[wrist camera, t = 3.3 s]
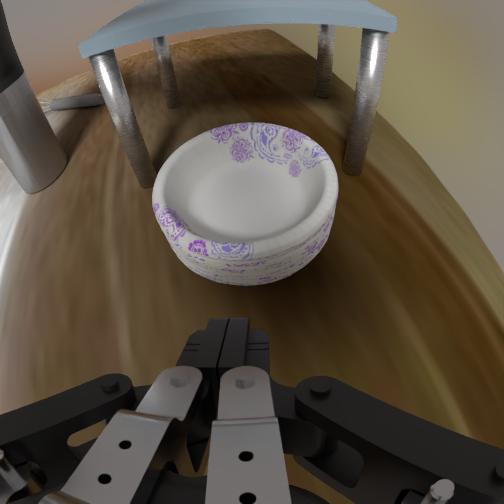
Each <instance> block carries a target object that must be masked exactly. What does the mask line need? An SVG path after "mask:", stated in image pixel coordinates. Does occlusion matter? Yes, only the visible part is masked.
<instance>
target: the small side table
mask: <svg viewBox="0 0 504 504" xmlns="http://www.w3.org/2000/svg"><path fill="white" fill-rule="evenodd" d="M264 23H310V24H319V28H318V56H317V77H316V96H317V97H320V98H329V97H330V89H331V77H332V65H333V50H334V33H335V25H341V26H351V27H360V28H363V31H362V42H361V50H360V59H359V67H358V75H357V83H356V90H355V97H354V104H353V110H352V117H351V123H350V129H349V135H348V140H347V146H346V152H345V157H344V162H343V171H344V172H345V173H346V174H348V175H350V176H359V175H360V174H361V173H362V169H363V165H364V161H365V157H366V153H367V149H368V145H369V140H370V136H371V131H372V127H373V122H374V118H375V113H376V108H377V103H378V98H379V92H380V87H381V82H382V76H383V70H384V64H385V59H386V51H387V46H388V39H389V32H393V33H395V32H396V24H397V18H396V17H394V16H392V15H391V14H389V13H387V12H386V11H384V10H382V9H380V8H378V7H376V6H375V5H372V4H371V3H369V2H367V1H365V0H146V1H144V2H142V3H140V4H138V5H137V6H135V7H133V8H132V9H130V10H128V11H127V12H125V13H124V14H122V15H120V16H119V17H117V18H116V19H114V20H113V21H111V22H110V23H108V24H107V25H105V26H104V27H102V28H101V29H99V30H98V31H97V32H95V33H94V34H92V35H91V36H90V37H88V38H87V39H86V40H84V41H83V42H82V43H80V44H79V45H78V48H79V51H80V53H81V57H82V59H83V58H86V57H89V60H90V63H91V65H92V68H93V71H94V74H95V77H96V80H97V82H98V85H99V88H100V90H101V93H102V96H103V98H104V101H105V103H106V106H107V108H108V111H109V114H110V116H111V119H112V121H113V124H114V126H115V128H116V131H117V133H118V136H119V138H120V140H121V143H122V145H123V148H124V150H125V152H126V155H127V157H128V159H129V161H130V164H131V166H132V168H133V171H134V173H135V175H136V177H137V179H138V182H139V184H140V186H141V187H142V188H151V187H153V186H154V183H155V180H156V178H157V174H156V171H155V169H154V166H153V163H152V161H151V158H150V156H149V153H148V150H147V148H146V145H145V142H144V139H143V137H142V134H141V131H140V128H139V126H138V123H137V120H136V117H135V114H134V111H133V108H132V106H131V103H130V100H129V97H128V94H127V91H126V88H125V85H124V82H123V79H122V76H121V72H120V69H119V66H118V63H117V60H116V57H115V53H114V50H113V48H117V47H120V46H124V45H127V44H131V43H135V42H138V41H143V40H147V39H151V43H152V47H153V51H154V55H155V59H156V63H157V67H158V71H159V75H160V79H161V83H162V87H163V91H164V94H165V98H166V102H167V106H168V108H176V107H178V106H180V105H181V104H182V102H181V98H180V94H179V90H178V85H177V81H176V77H175V72H174V68H173V64H172V59H171V55H170V50H169V46H168V41H167V36H166V35H170V34H175V33H180V32H186V31H192V30H199V29H206V28H213V27H223V26H233V25H246V24H264Z"/></svg>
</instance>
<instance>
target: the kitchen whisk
mask: <svg viewBox="0 0 504 504" xmlns="http://www.w3.org/2000/svg"><path fill="white" fill-rule="evenodd" d="M39 99H42V98H39ZM43 100H47V99H43ZM48 101H51V100H48ZM104 102H105V101H104V98H103V96H102V94H100V93H96V94H87V95H79V96H72V97H66V98H60V99H54V100H53V101H52V102H51V104H50V105H51V108H50V111H51V109H52V110H61V109H69V108H78V107H88V106H98V105H101V104H103V103H104ZM39 103H45V102H39ZM42 106H45V105H42ZM47 107H49V106H47ZM42 108H45V107H42ZM48 111H49V109H48ZM46 112H47V110H46ZM44 113H45V111H44ZM47 113H48V112H47ZM45 114H46V113H45Z"/></svg>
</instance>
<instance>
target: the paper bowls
mask: <svg viewBox="0 0 504 504" xmlns="http://www.w3.org/2000/svg"><path fill="white" fill-rule="evenodd" d="M337 198H338V178H337V173H336V170H335V167H334V164H333V163H332V161H331V159H330V157H329V156H328V154H327V153H326V152H325V150H324V149H323V148H322V147H321V146H320V145H318V144H317V143H316V142H315V141H314V140H312V139H311V138H309V137H308V136H306V135H304V134H302V133H300V132H298V131H295V130H293V129H290V128H287V127H284V126H279V125H275V124H268V123H252V122H251V123H237V124H230V125H226V126H221V127H218V128H214V129H212V130H209V131H206V132H204V133H202V134H200V135H198V136H196V137H194V138H192V139H191V140H189V141H187V142H186V143H185V144H183V145H182V146H180V147H179V148H178V149H177V150H176V151H175V152H174V153H173V154H172V155H171V156H170V157H169V158H168V159H167V160H166V162H165V163H164V164H163V166H162V167H161V169H160V171H159V173H158V175H157V178H156V180H155V183H154V188H153V195H152V203H153V209H154V213H155V216H156V218H157V221H158V223H159V225H160V227H161V229H162V231H163V232H164V234H165V236H166V238H167V240H168V242H169V244H170V245H171V247H172V249H173V250H174V252H175V253H176V255H177V256H178V258H179V259H180V260H181V261H182V262H183V263H184V264H185V265H186V266H187V267H188V268H190V269H191V270H192V271H194V272H195V273H197V274H199V275H201V276H203V277H205V278H207V279H209V280H213V281H216V282H219V283H223V284H231V285H242V286H250V285H258V284H266V283H272V282H275V281H278V280H280V279H283V278H286V277H288V276H291V275H292V274H293V273H295V272H297V271H298V270H300V269H301V268H303V267H304V266H306V265H307V264H308V263H309V262H310V261H311V260H312V259H313V258H314V257H315V256H316V255H317V254H318V253H319V252H320V250H321V249H322V247H323V246H324V244H325V243H326V241H327V239H328V236H329V233H330V229H331V226H332V222H333V218H334V213H335V207H336V202H337Z"/></svg>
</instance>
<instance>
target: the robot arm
mask: <svg viewBox="0 0 504 504" xmlns="http://www.w3.org/2000/svg"><path fill="white" fill-rule="evenodd" d="M0 156H1V158H2V160H3V161H4V163H5V164H6V166H7V167H8V168H9V170H10V171H11V173H12V174H13V176H14V177H15V179H16V180H17V182H18V183H19V184H20V186H21V187H22V189H23V190H24V191H25V192H26V193H29V194H31V193H36V192H38V191H40V190H42V189H44V188H45V187H47V186H48V185H50V184H51V183H52V182H53V181H54V180H55V179H56V178H57V177H58V176H59V175H60V174H61V172H62V171H63V170H64V168H65V166H66V163H67V156H66V154H65V152H64V151H63V149H62V147H61V145H60V143H59V141H58V140H57V137H56V136H55V134H54V132H53V130H52V128H51V126H50V124H49V122H48V120H47V118H46V116H45V114H44V112H43V110H42V108H41V106H40V104H39V102H38V100H37V98H36V96H35V94H34V92H33V90H32V87H31V85H30V83H29V81H28V79H27V77H26V75H25V72H24V69H23V67H22V65H21V63H20V60H19V58H18V55H17V52H16V50H15V47H14V45H13V42H12V39H11V36H10V32H9V29H8V25H7V22H6V18H5V14H4V10H3V6H2V3H1V0H0ZM100 421H103V423H104V425H105V429H104V430H103V432H102V433H101V435H100V436H99V437H97V438H95V439H93V440H91V441H88V442H86V443H84V444H82V445H80V446H77V447H72V446H69V445H68V444H67V440H68V438H69V436H70V435H71V434H73V433H75V432H78V431H80V430H82V429H85V428H87V427H89V426H91V425H93V424H96V423H98V422H100ZM283 453H285V454H291V455H293V457H294V460H295V461H296V462H297V463H298V464H299V465H301V466H302V467H303V468H305V469H306V470H307V471H309V472H310V473H311V474H313V475H314V476H316V477H317V478H318V479H320V480H321V481H323V482H324V483H326V484H327V485H328V486H330V487H331V488H333V489H334V490H336V491H337V492H339V493H340V494H342V495H343V496H345V497H347V498H348V499H350V500H351V501H353V502H354V503H356V504H504V450H503V449H500V448H497V447H494V446H492V445H489V444H486V443H483V442H480V441H477V440H475V439H472V438H469V437H466V436H464V435H461V434H459V433H456V432H453V431H451V430H448V429H446V428H443V427H441V426H438V425H436V424H433V423H431V422H429V421H426V420H424V419H421V418H419V417H417V416H414V415H412V414H410V413H407V412H405V411H403V410H401V409H398V408H396V407H394V406H392V405H389V404H387V403H385V402H383V401H381V400H379V399H376V398H374V397H372V396H370V395H368V394H366V393H364V392H362V391H359V390H357V389H355V388H353V387H351V386H349V385H347V384H345V383H343V382H341V381H339V380H337V379H335V378H332V377H327V376H315V377H310V378H307V379H305V380H303V381H301V382H300V383H299V384H298V385H297V386H296V388H293V387H287V386H283V385H280V384H278V383H276V382H275V381H274V380H272V378H271V377H270V365H269V340H268V334H267V333H266V332H265V331H264V330H263V329H251V330H250V321H249V317H247V318H230V319H229V318H211V319H210V320H209V323H208V325H207V328H206V330H203V331H196V332H195V333H194V334H192V335H191V336H190V337H189V338H188V341H187V343H186V345H185V347H184V349H183V351H182V353H181V355H180V357H179V360H178V362H177V364H176V366H175V367H171V368H168V369H166V370H164V371H163V372H161V373H160V374H159V376H158V377H157V379H156V380H155V382H154V383H153V385H147V386H138V387H133V384H132V381H131V379H130V378H129V377H128V376H126V375H123V374H107V375H104V376H101V377H99V378H96V379H94V380H91V381H89V382H86V383H84V384H81V385H79V386H76V387H74V388H71V389H69V390H66V391H64V392H61V393H59V394H56V395H54V396H51V397H48V398H46V399H43V400H40V401H38V402H35V403H32V404H30V405H27V406H24V407H21V408H19V409H16V410H13V411H10V412H7V413H4V414H2V415H0V504H329V503H328V502H327V501H325V500H324V499H322V498H321V497H319V496H317V495H316V494H314V493H312V492H309V491H307V490H305V489H302V488H299V487H296V486H293V485H288V479H287V473H286V467H285V461H284V455H283ZM208 458H209V464H208V475H207V476H203V474H204V471H205V468H206V464H207V461H208Z"/></svg>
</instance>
